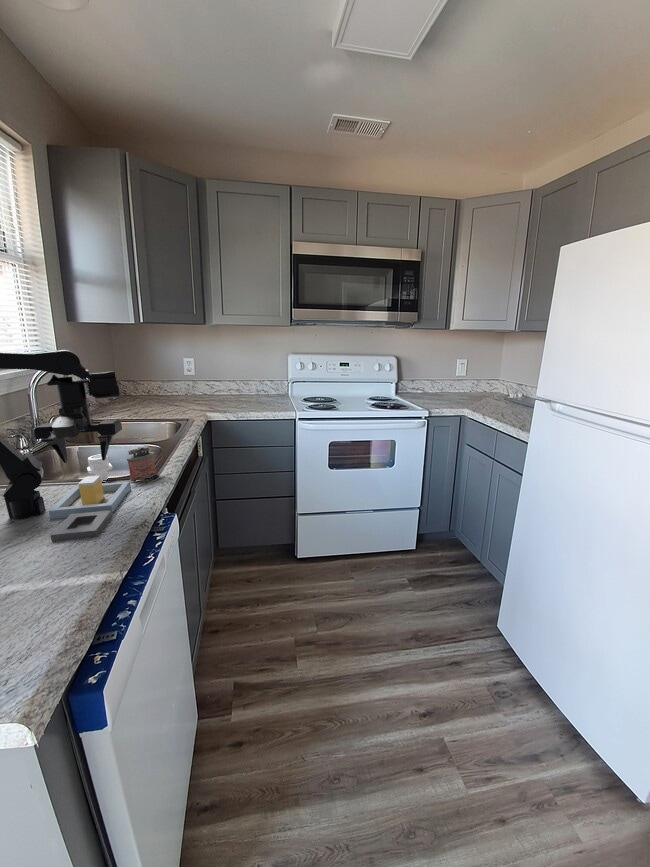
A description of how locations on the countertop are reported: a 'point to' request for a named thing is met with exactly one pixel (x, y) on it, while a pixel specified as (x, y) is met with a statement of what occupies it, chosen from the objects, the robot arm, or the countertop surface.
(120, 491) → the parts tray
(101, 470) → the pipe fitting
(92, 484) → the yellow and white block
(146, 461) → the lighter
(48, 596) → the countertop surface
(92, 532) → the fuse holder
